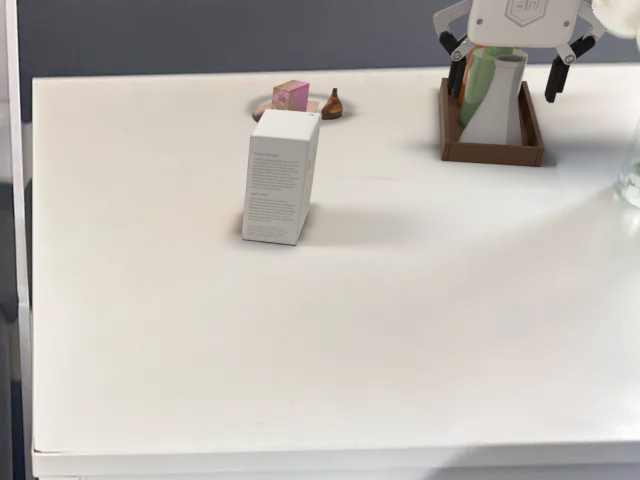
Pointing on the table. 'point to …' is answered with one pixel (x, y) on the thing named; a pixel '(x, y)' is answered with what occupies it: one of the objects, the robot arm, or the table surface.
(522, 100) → the tray
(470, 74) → the green bottle
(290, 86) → the plate of sweets
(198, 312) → the table surface
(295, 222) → the small box
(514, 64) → the flask
